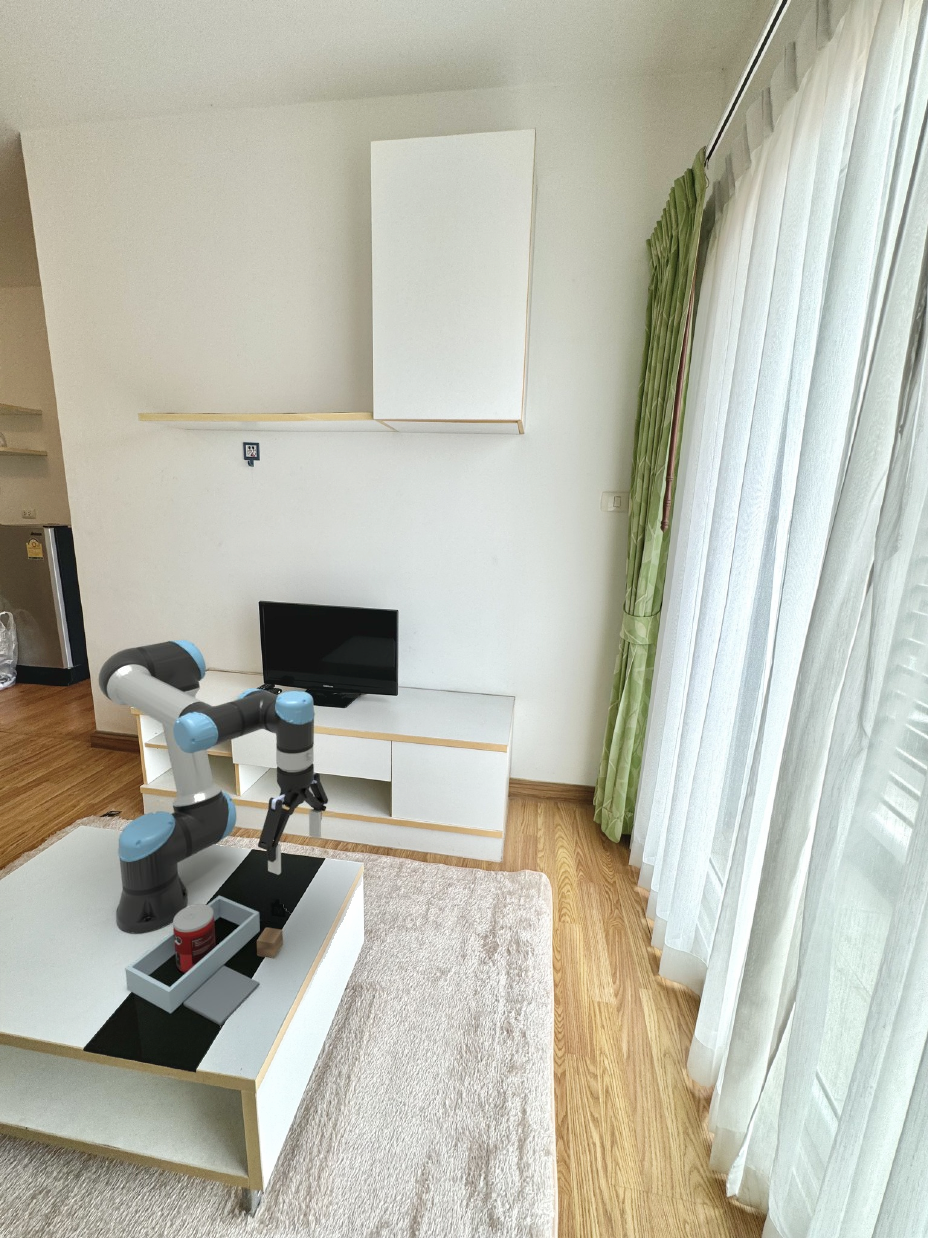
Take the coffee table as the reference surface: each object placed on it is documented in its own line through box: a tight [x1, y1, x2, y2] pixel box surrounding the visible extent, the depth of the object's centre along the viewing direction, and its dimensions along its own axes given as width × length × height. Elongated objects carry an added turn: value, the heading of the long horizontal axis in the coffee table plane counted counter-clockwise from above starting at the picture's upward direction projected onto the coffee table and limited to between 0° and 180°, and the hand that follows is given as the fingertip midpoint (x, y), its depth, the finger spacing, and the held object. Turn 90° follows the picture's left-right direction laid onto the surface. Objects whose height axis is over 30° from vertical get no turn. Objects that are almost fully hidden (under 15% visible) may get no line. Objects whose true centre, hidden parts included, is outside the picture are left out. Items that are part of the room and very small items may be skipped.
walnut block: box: [256, 927, 284, 960], centre depth 121 cm, size 4×4×4 cm
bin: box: [124, 895, 261, 1014], centre depth 118 cm, size 13×24×5 cm, turn 157°
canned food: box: [172, 903, 216, 974], centre depth 117 cm, size 8×8×11 cm
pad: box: [183, 964, 260, 1026], centre depth 110 cm, size 10×10×1 cm
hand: (295, 853), depth 118 cm, fingers open, 13 cm apart
